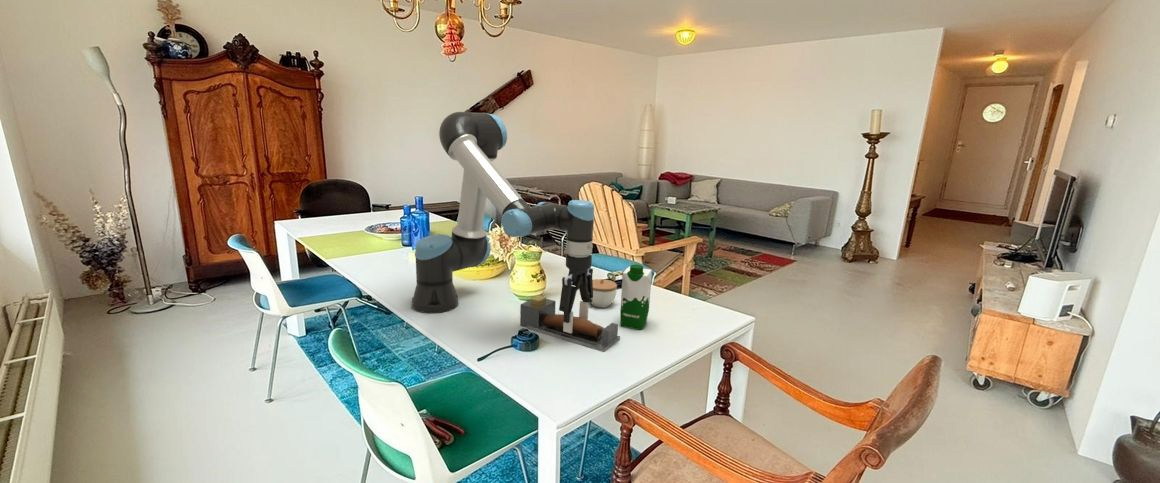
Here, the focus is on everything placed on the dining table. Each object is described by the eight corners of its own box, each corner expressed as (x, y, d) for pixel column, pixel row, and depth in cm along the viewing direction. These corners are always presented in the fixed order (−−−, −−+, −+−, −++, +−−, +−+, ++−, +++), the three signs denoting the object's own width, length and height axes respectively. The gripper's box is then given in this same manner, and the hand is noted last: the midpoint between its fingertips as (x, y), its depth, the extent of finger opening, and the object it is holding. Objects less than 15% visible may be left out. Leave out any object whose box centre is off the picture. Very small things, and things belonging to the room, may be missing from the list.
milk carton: (616, 327, 152) (620, 266, 147) (623, 317, 160) (627, 259, 155) (644, 331, 149) (649, 270, 144) (649, 321, 157) (654, 262, 153)
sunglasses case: (608, 328, 145) (604, 314, 141) (600, 347, 141) (596, 333, 136) (555, 316, 152) (550, 303, 148) (545, 334, 148) (540, 321, 143)
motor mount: (516, 325, 150) (517, 299, 148) (535, 315, 158) (536, 290, 156) (604, 351, 134) (605, 323, 132) (620, 339, 143) (621, 312, 141)
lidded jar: (614, 299, 176) (615, 275, 174) (617, 310, 165) (618, 284, 163) (585, 298, 175) (586, 274, 173) (586, 309, 165) (587, 283, 163)
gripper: (570, 264, 128) (567, 342, 134) (607, 249, 146) (603, 318, 151) (547, 259, 132) (545, 335, 137) (586, 245, 150) (582, 313, 155)
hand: (575, 326), depth 144 cm, fingers open, 8 cm apart
